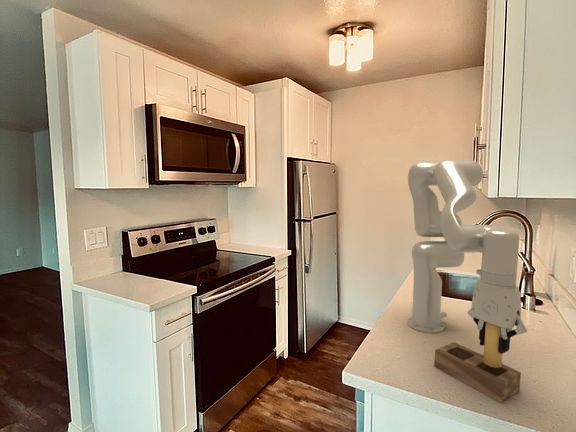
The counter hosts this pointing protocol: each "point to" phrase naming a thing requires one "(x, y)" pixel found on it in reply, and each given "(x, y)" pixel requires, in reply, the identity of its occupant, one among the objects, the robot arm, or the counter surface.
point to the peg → (492, 346)
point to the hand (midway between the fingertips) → (493, 347)
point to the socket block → (477, 371)
